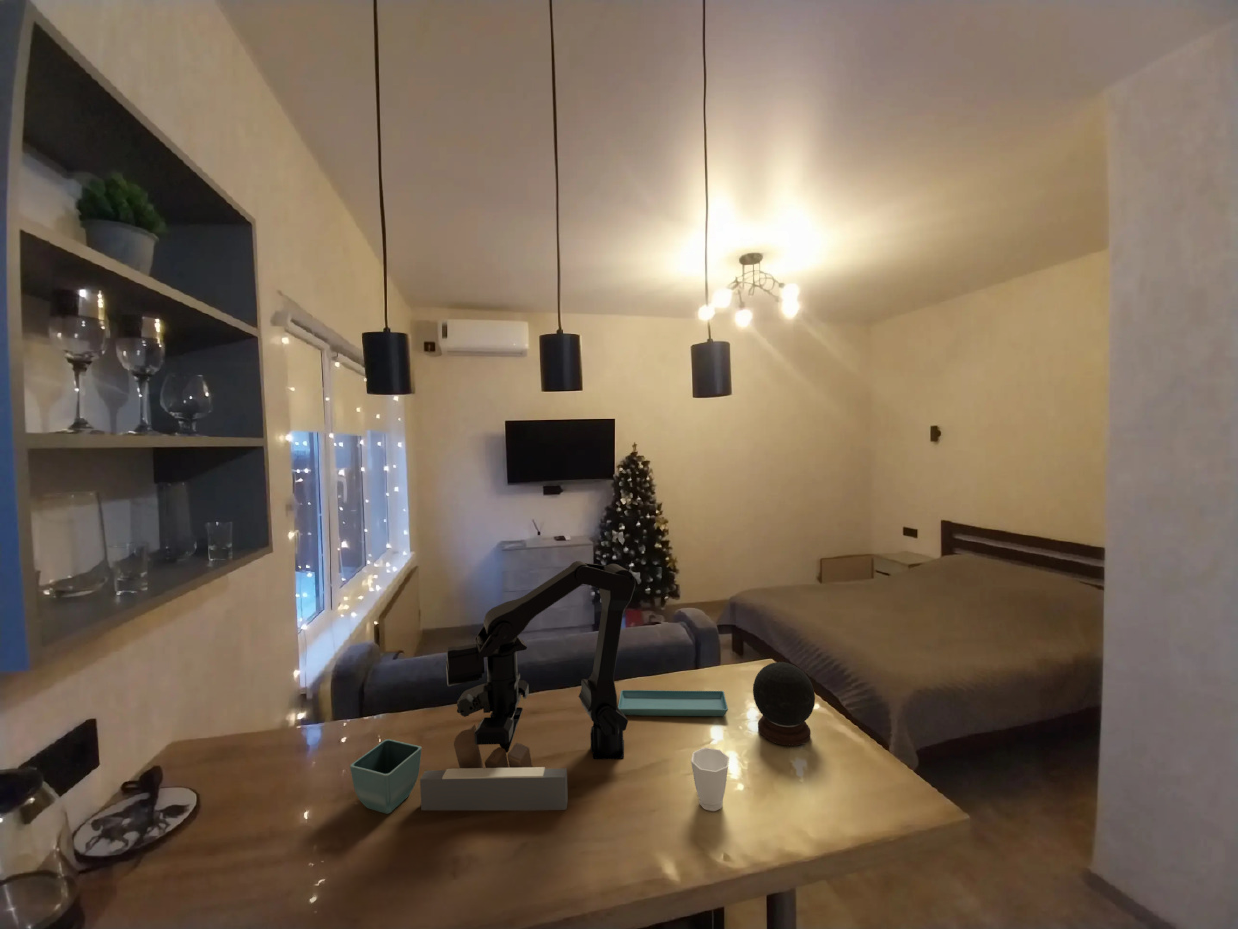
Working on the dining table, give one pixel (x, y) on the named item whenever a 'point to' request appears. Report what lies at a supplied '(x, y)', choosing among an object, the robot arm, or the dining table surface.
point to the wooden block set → (471, 754)
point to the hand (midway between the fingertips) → (505, 751)
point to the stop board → (494, 789)
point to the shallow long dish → (672, 703)
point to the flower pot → (386, 774)
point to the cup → (710, 776)
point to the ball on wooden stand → (784, 703)
